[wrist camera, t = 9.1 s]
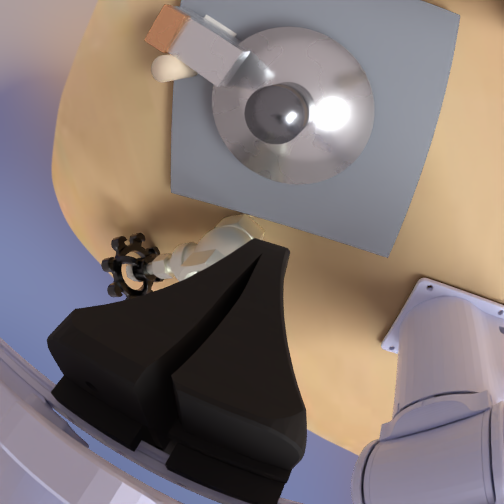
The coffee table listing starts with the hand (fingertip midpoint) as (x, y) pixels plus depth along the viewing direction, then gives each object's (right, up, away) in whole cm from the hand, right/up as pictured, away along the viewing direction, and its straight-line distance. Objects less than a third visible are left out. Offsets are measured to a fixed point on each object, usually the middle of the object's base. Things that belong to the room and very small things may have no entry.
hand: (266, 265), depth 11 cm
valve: (-5, +1, +15) cm, 16 cm away
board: (+2, +9, +6) cm, 11 cm away
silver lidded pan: (0, +10, +5) cm, 11 cm away
